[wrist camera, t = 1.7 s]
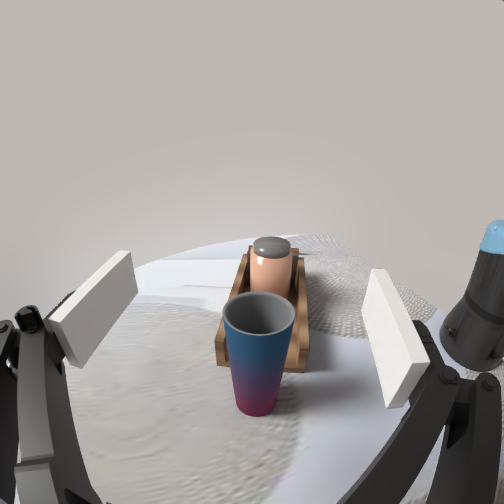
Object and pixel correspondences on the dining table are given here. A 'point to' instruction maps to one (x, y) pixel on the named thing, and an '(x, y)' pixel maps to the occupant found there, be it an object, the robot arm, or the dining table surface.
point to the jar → (271, 266)
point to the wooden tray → (300, 328)
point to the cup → (257, 347)
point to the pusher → (293, 271)
